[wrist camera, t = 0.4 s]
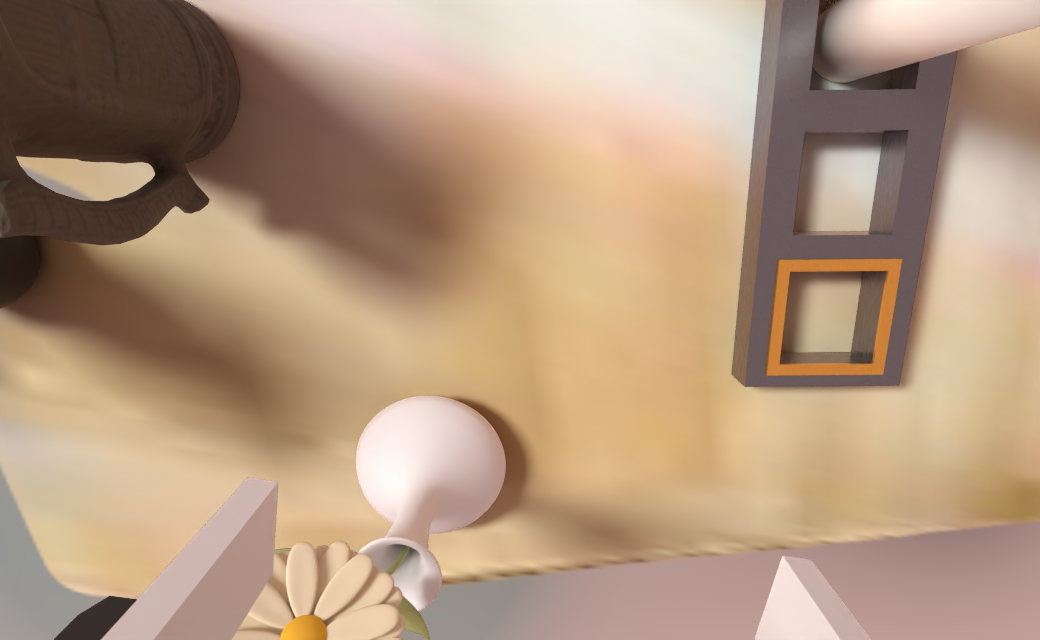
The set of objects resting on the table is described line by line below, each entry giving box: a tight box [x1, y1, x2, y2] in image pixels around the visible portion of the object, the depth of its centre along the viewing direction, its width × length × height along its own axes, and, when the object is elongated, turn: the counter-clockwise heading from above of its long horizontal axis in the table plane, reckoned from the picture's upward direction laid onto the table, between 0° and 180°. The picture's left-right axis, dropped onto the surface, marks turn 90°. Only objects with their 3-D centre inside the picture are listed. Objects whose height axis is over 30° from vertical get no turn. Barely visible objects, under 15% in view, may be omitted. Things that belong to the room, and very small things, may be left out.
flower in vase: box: [232, 395, 506, 640], centre depth 31 cm, size 13×11×25 cm
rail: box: [732, 0, 958, 387], centre depth 37 cm, size 28×11×3 cm, turn 1°
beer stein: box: [0, 0, 239, 245], centre depth 28 cm, size 15×11×20 cm
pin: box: [812, 0, 1040, 83], centre depth 29 cm, size 5×5×15 cm
